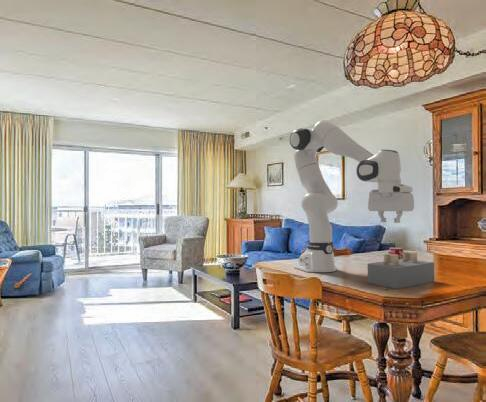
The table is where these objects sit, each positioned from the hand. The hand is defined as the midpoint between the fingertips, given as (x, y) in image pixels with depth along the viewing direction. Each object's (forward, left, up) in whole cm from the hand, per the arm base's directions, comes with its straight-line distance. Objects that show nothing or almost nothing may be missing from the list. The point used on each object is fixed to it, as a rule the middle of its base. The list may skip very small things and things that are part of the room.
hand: (390, 222), depth 157 cm
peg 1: (0, 0, -21) cm, 21 cm away
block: (0, +6, -25) cm, 26 cm away
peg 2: (0, +12, -21) cm, 24 cm away
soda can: (-14, +21, -25) cm, 36 cm away
